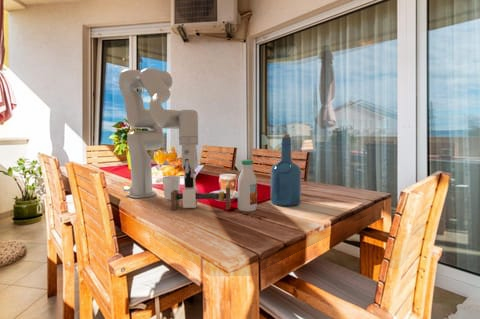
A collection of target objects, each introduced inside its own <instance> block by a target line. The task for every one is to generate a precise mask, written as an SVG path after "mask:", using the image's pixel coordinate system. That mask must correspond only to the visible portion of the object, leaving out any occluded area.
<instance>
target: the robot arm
mask: <svg viewBox="0 0 480 319" xmlns="http://www.w3.org/2000/svg"><path fill="white" fill-rule="evenodd" d="M172 85H173V78H172V75H171V74H170V73H169V72H168V71H166V70H162V69H157V68H152V67H147V68H144V69H142V70H139V69H133V68H132V69H131V68H130V69H129V68H128V69H124V70H121V72H120V74H119V76H118V86H119V90H120V93H121V95H122V98H123V101H124V107H125V108H124V109H125V113H126V120H127V123H128V125H129V127H130V128H133V129H148V130H134V131H131V132H130V133H129V134H128V135H127V137H126V143H127V147H128V150H129V152H128V153H129V160H130V161H129V162H130V176H131V177H130V178H131V180H130V181H131V186H124V187H123V192H129V193H128V197H129V198H133V199H134V198H135V199H143V198H150V197H154V196H156V194H157V193H156V190H153V170H152V158H151V156H150V154H149V153H148V151H152V150H153V151H155V150H160V149H161V148H163V146H164V143H165V138H164V131H163V130H164V129H166V130H167V129H174V130H175V129H176V130H177V129H178V145H179V146H181V168H182V170H183V171H184V174H185V187H186V188H192V187H193V177H192V173H195V170H197V168H198V167H199V163H198V150H197V149H198V148H197V146H198V145H199V113H198V112H197V110H194V109H181V110H178V109H177V110H175V109H164V107H163V105H162V104H165V103H166V102H168V101H169V99H170V97H171V91H170V89H171V87H172ZM137 90H143V91H144V90H145V91H146V92H147V93H148V96H149V97H150V101H149V105H148V106H149V107H148V108H149V109H147V108H145V105H144V99H143V98H142V96H141V94H140V93H139V92H138V91H137Z"/></svg>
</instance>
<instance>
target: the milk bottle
mask: <svg viewBox="0 0 480 319" xmlns="http://www.w3.org/2000/svg"><path fill="white" fill-rule="evenodd" d="M253 167H254V160H253V159H242V160H241V170H240V173H239V176H238V180H237V210H239V211H241V212H245V213H246V212H255V211H256V210H257V209H258V182H257V181H258V180H257V176H256V174H255V172H254V168H253Z"/></svg>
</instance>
